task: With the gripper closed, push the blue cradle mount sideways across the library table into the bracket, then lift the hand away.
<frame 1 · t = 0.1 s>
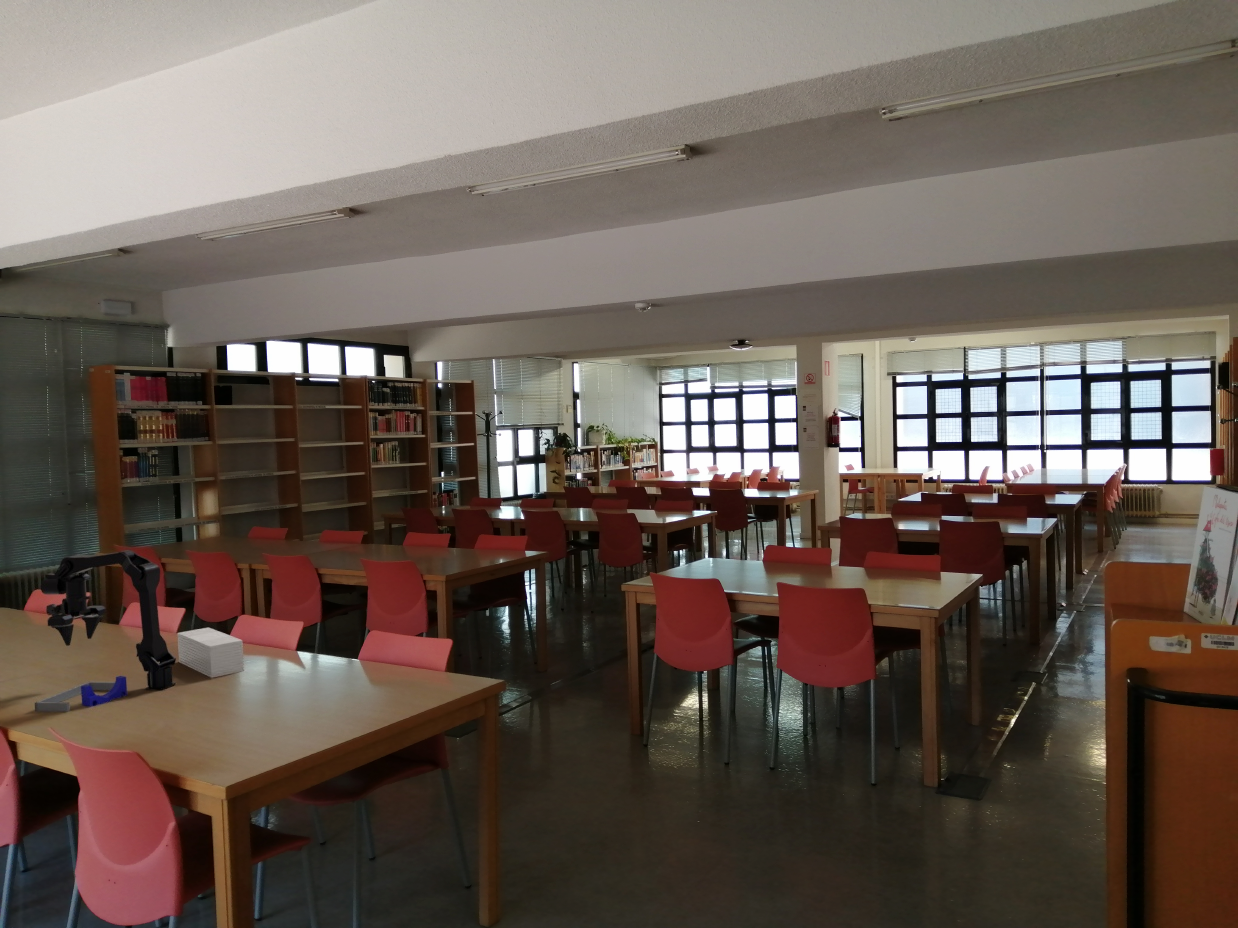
hand: (78, 641, 284), 15 cm above the table, fingers open, 9 cm apart
blue cradle mount: (106, 701, 268), on the table
stack of papers: (210, 667, 305), on the table
bracket: (80, 699, 269), on the table
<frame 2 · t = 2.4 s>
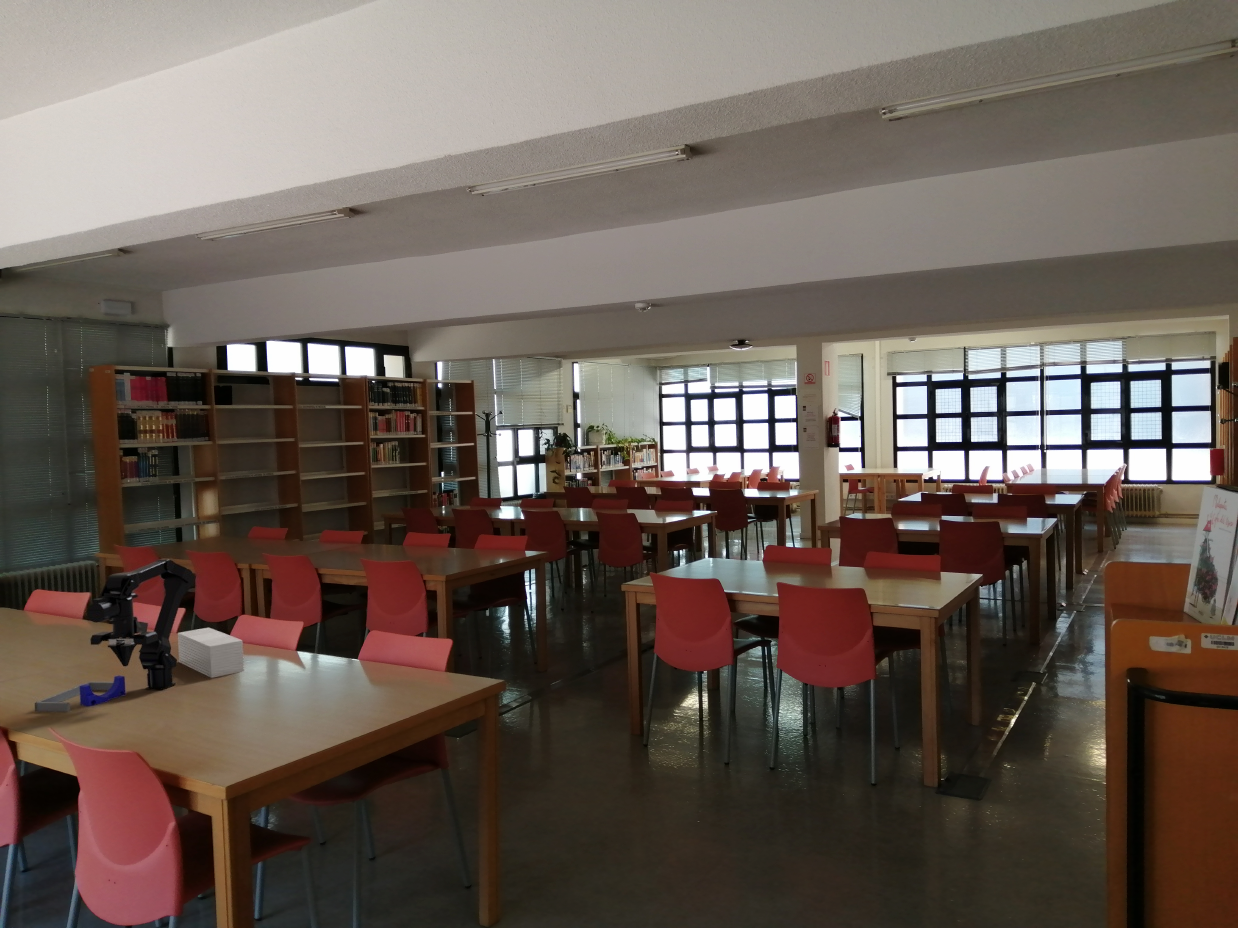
hand: (125, 665, 267), 11 cm above the table, fingers closed
nothing on the table moved.
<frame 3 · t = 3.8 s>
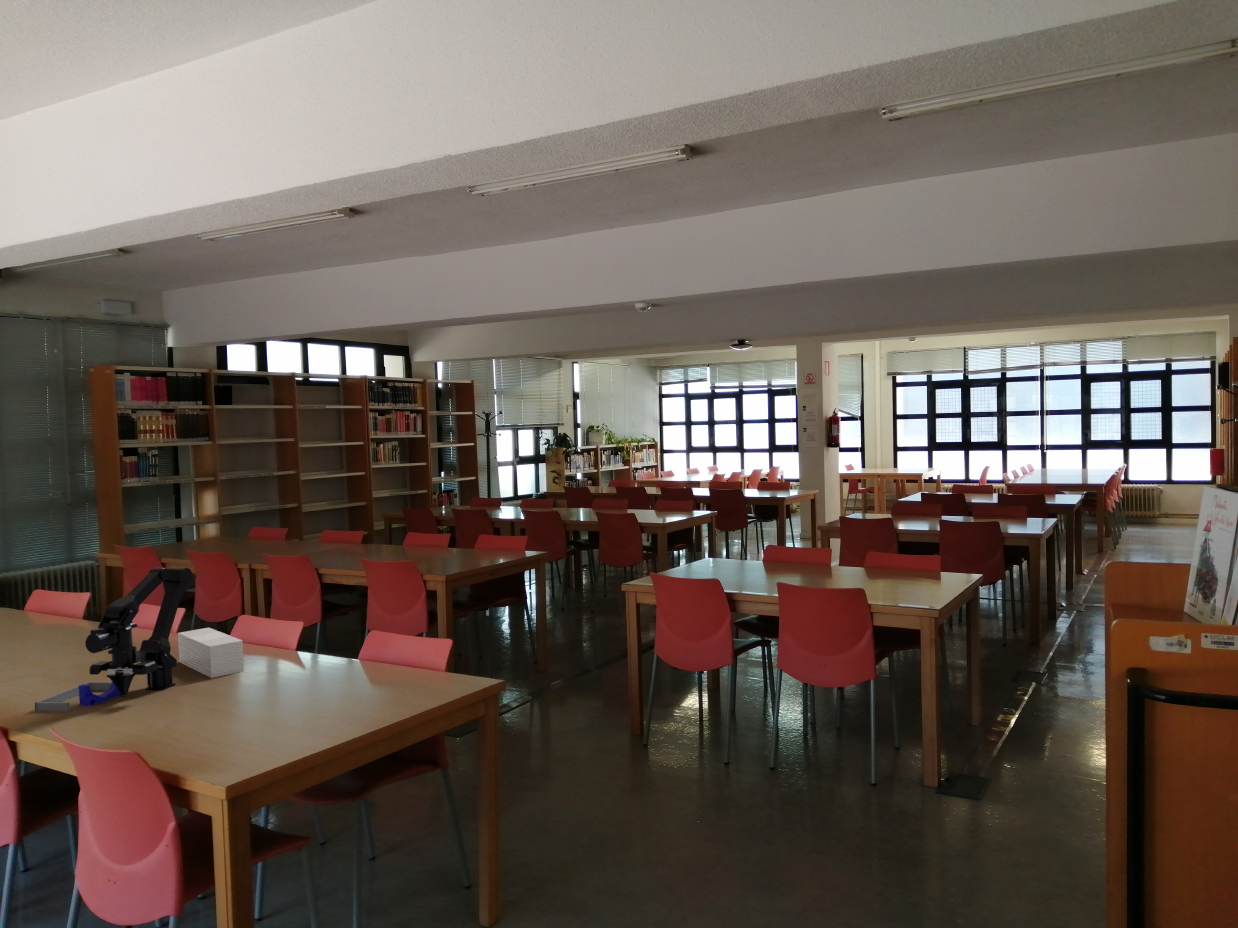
hand: (124, 695, 267), 2 cm above the table, fingers closed
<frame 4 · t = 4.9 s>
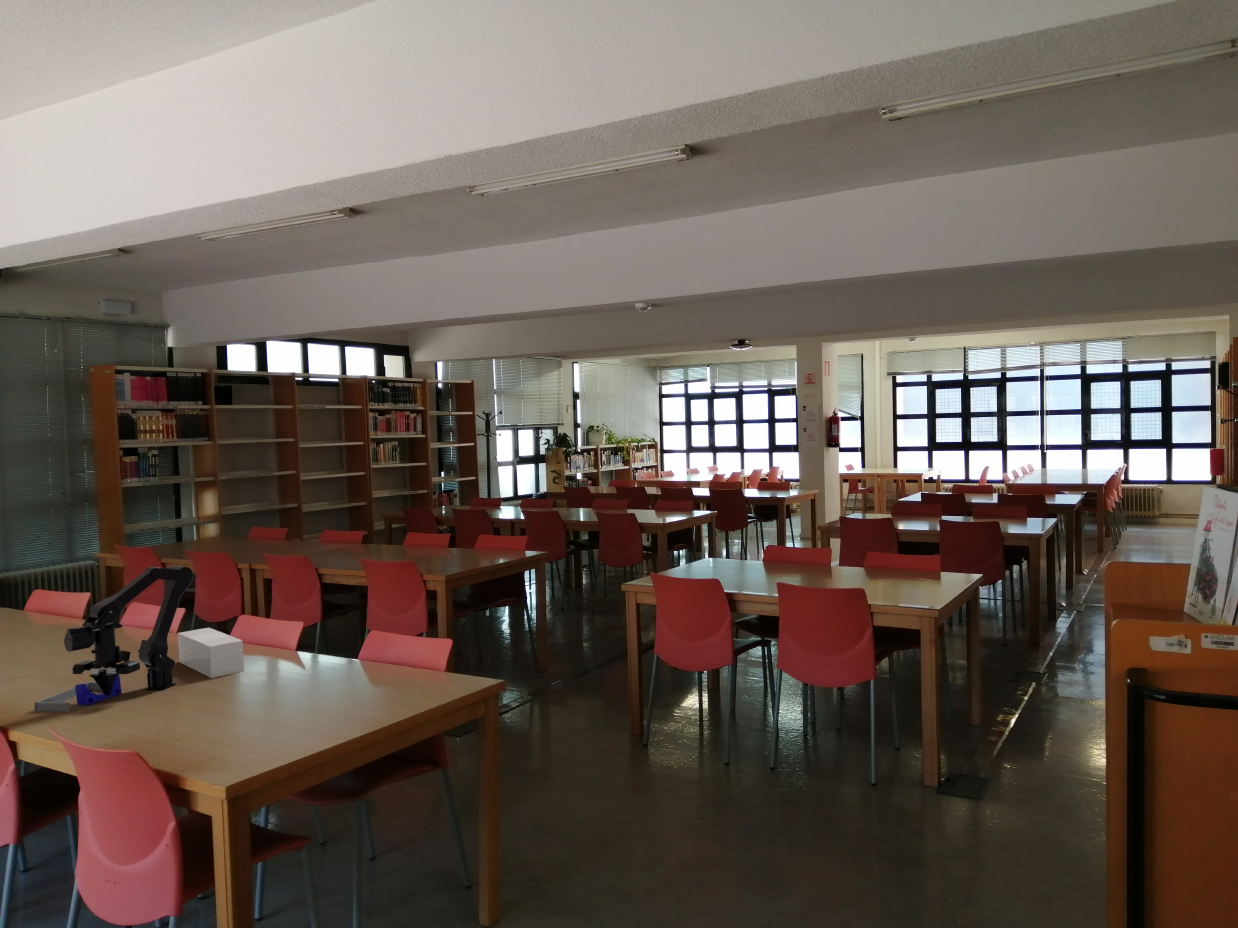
hand: (107, 695, 268), 2 cm above the table, fingers closed
blue cradle mount: (101, 699, 269), on the table, touching gripper
everything else where it was.
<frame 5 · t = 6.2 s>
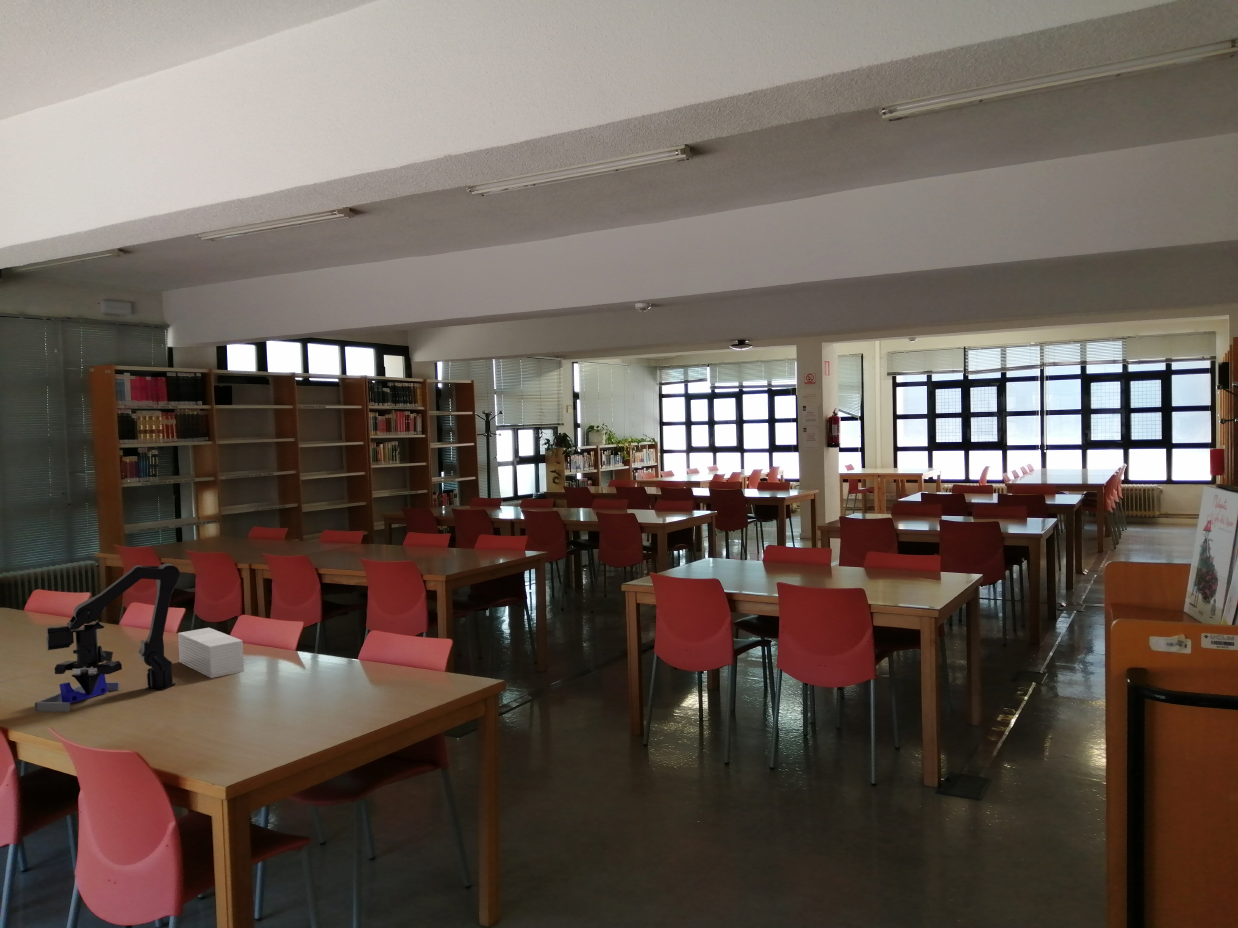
hand: (89, 695, 269), 2 cm above the table, fingers closed
blue cradle mount: (86, 698, 271), on the table
everything else where it was.
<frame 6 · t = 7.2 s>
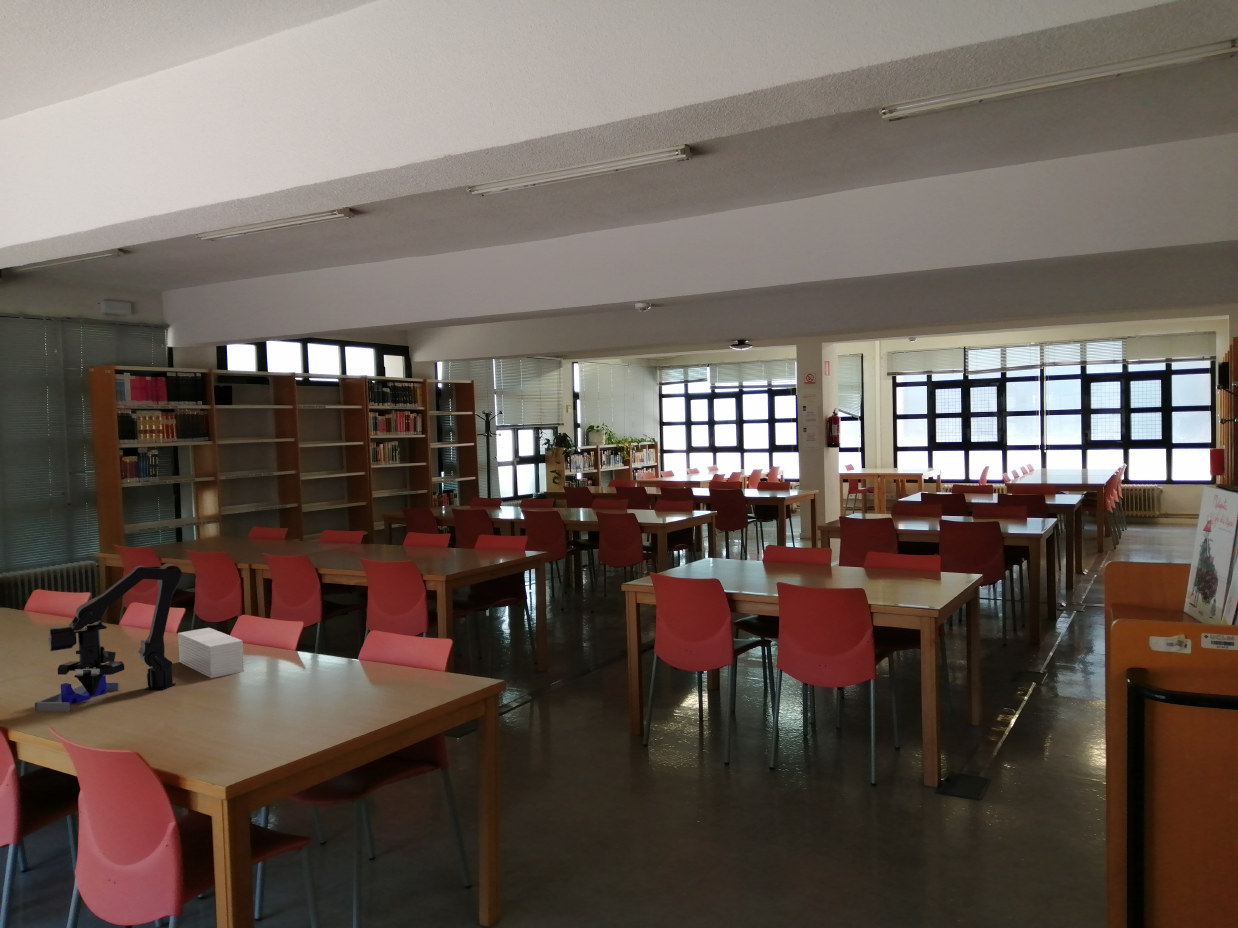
hand: (92, 695, 269), 1 cm above the table, fingers closed
nothing on the table moved.
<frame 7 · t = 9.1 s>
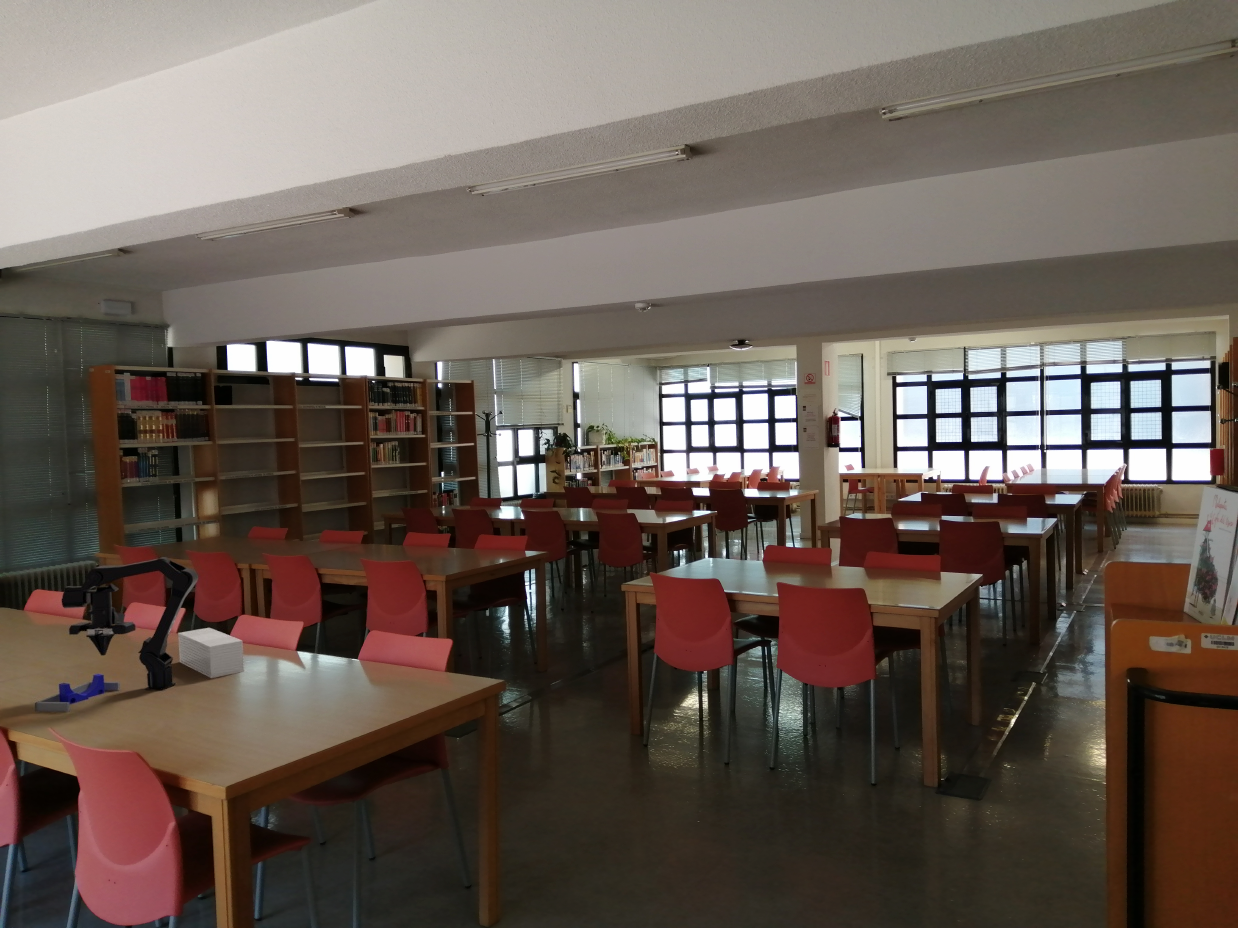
hand: (103, 655, 277), 12 cm above the table, fingers closed
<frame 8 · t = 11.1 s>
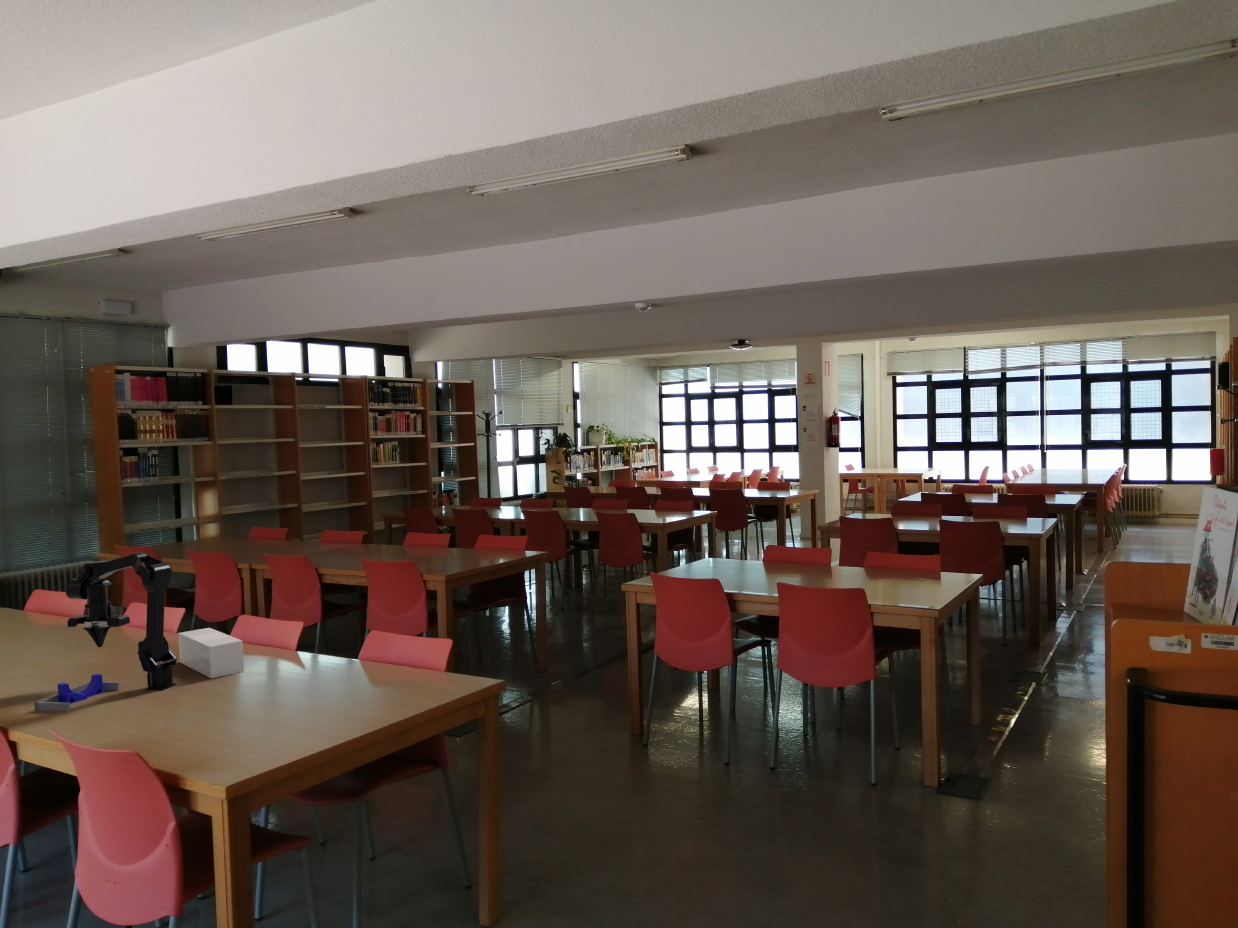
hand: (100, 646, 288), 12 cm above the table, fingers closed
at the end: blue cradle mount inside the target area on the bracket (2.2 cm from its centre), point 0.0 cm above the bracket's base; blue cradle mount tilted 0°; the gripper is holding nothing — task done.
